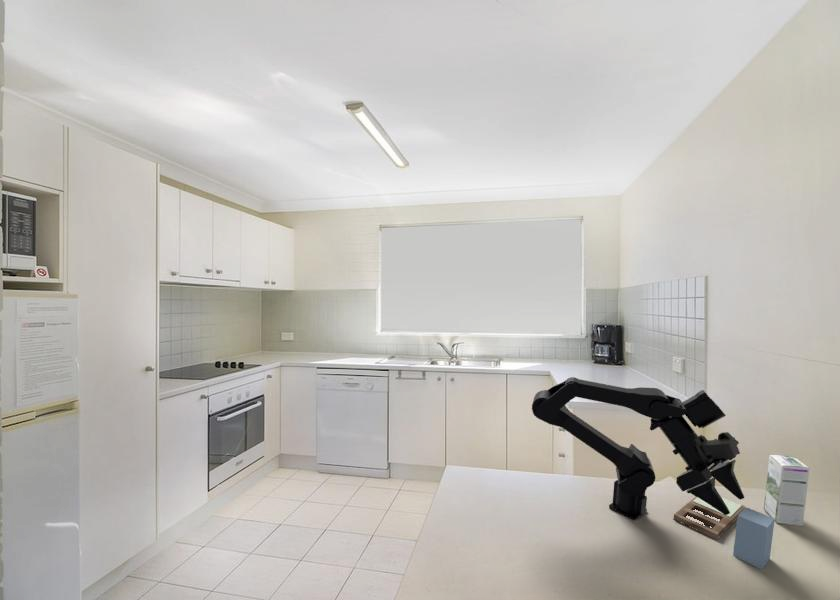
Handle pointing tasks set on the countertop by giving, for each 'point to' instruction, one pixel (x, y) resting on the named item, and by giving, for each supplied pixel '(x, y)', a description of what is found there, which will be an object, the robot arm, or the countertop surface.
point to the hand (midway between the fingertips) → (735, 506)
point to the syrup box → (786, 489)
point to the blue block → (753, 537)
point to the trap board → (711, 511)
